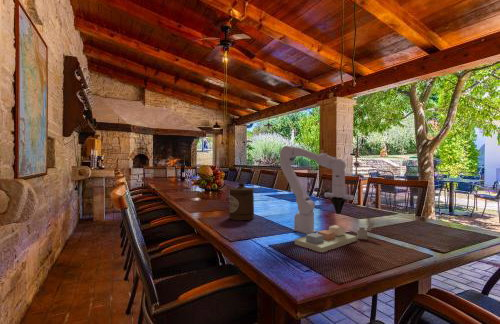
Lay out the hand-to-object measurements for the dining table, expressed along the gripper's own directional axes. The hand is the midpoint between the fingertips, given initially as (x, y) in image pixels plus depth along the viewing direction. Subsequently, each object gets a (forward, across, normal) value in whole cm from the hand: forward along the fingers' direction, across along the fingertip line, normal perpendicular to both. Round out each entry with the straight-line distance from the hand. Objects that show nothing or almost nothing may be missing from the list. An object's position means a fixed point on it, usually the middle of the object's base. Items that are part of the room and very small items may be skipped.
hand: (338, 213), depth 132 cm
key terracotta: (+9, +3, -14) cm, 16 cm away
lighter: (+11, +11, +5) cm, 16 cm away
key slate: (+9, +3, -22) cm, 23 cm away
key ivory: (+8, +3, -6) cm, 10 cm away
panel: (+10, +3, -14) cm, 17 cm away
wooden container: (+10, -58, -13) cm, 61 cm away
